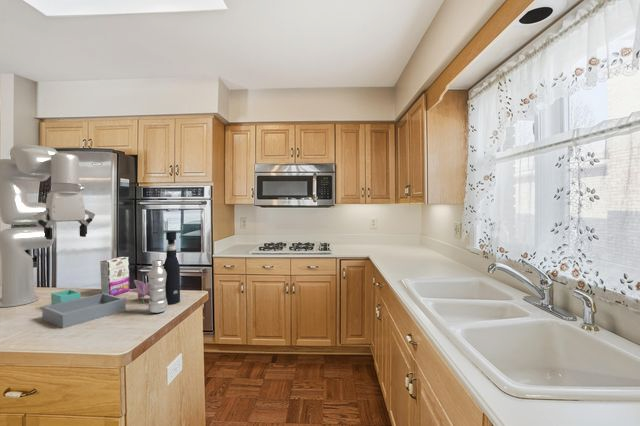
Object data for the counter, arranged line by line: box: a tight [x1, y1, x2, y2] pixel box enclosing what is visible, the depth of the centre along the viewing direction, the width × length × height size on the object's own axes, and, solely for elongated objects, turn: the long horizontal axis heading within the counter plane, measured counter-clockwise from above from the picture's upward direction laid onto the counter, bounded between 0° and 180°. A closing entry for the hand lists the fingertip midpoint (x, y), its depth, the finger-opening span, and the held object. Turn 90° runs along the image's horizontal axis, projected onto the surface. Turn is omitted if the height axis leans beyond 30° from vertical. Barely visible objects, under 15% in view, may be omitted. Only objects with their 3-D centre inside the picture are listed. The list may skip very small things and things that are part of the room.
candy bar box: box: [99, 256, 131, 296], centre depth 140 cm, size 11×5×16 cm, turn 168°
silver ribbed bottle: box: [147, 259, 168, 314], centre depth 116 cm, size 6×7×20 cm
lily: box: [128, 279, 150, 304], centre depth 130 cm, size 12×12×10 cm
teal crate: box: [50, 288, 82, 305], centre depth 121 cm, size 8×6×6 cm
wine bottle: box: [162, 231, 181, 306], centre depth 128 cm, size 6×6×30 cm
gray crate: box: [42, 293, 127, 329], centre depth 113 cm, size 16×20×4 cm
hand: (66, 237), depth 106 cm, fingers open, 9 cm apart
